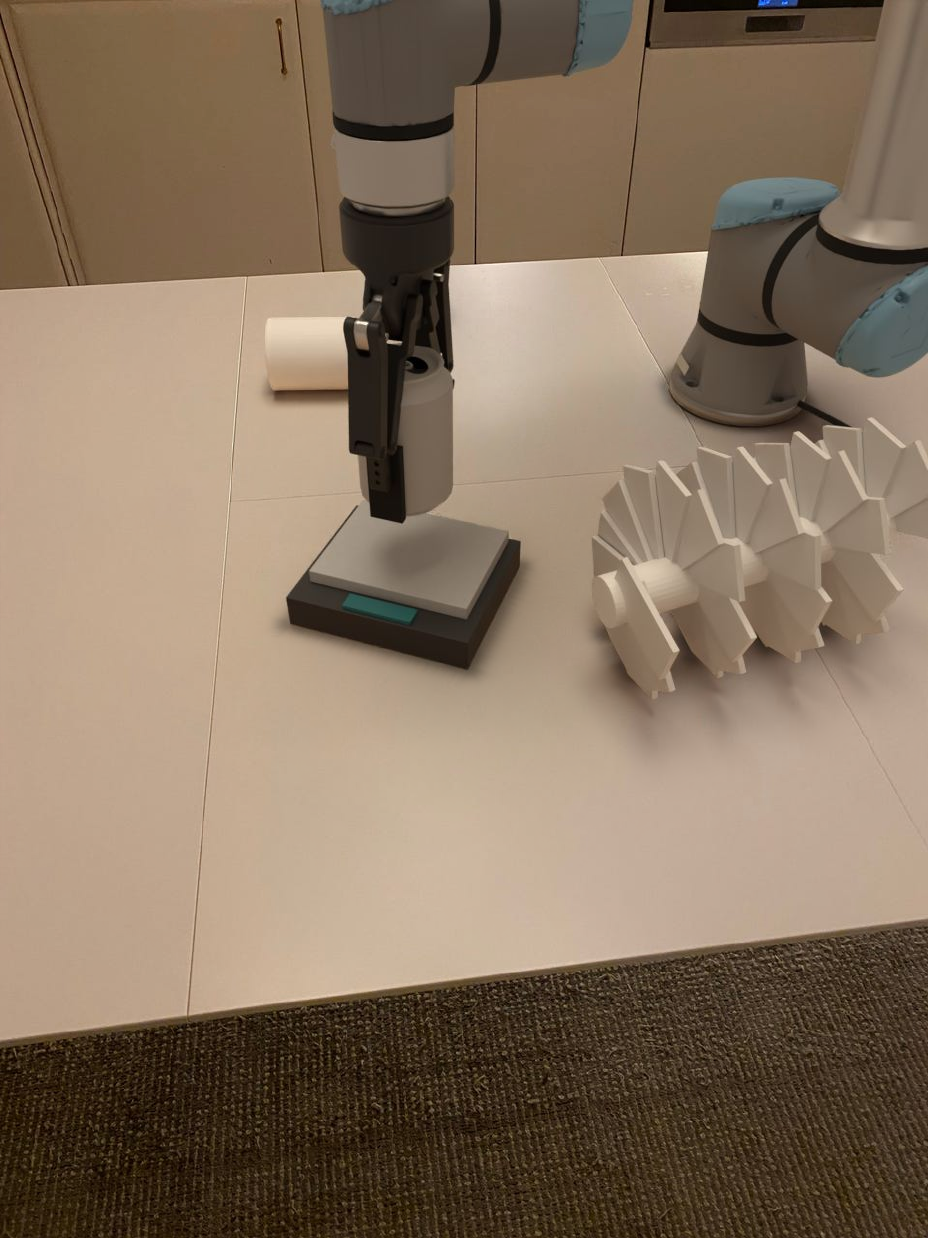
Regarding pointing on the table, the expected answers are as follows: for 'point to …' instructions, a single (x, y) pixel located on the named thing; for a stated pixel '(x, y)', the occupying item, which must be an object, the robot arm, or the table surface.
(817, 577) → the spiral staircase
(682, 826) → the table surface
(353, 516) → the scale
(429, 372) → the can
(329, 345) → the white coffee cup
